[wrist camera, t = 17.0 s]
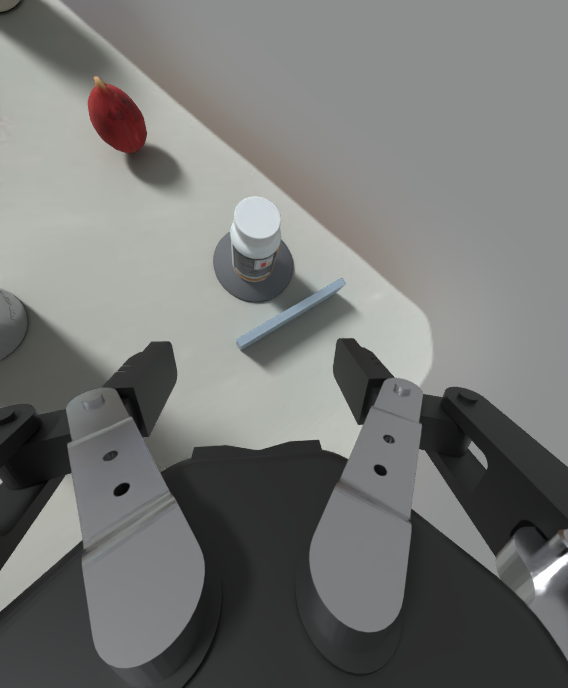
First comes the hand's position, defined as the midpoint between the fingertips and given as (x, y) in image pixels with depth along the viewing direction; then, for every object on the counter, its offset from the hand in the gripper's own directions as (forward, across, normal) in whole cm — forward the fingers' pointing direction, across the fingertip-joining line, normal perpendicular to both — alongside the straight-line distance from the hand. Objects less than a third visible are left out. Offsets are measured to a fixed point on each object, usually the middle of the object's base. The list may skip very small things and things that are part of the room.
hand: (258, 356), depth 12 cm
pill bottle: (+25, -1, 0) cm, 25 cm away
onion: (+33, -17, +14) cm, 40 cm away
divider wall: (+21, +4, -6) cm, 22 cm away
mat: (+25, 0, 0) cm, 25 cm away
